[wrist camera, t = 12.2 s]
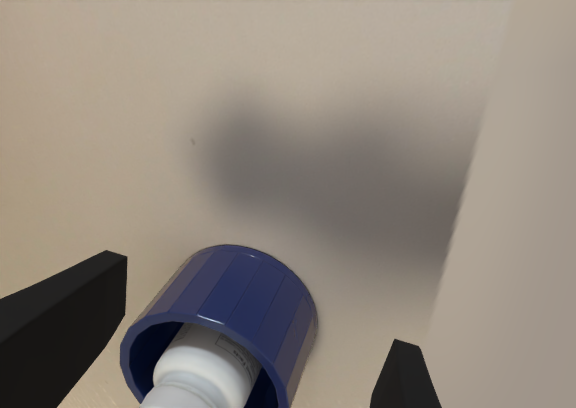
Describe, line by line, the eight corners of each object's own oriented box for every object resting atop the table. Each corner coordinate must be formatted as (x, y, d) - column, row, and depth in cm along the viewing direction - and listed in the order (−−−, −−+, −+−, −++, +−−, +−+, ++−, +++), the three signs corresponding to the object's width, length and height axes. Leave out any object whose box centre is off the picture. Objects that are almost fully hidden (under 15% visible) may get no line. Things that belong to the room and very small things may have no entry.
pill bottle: (207, 342, 28) (133, 464, 21) (195, 278, 26) (109, 390, 20) (281, 353, 27) (226, 487, 20) (274, 287, 25) (211, 411, 18)
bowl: (333, 275, 24) (305, 354, 20) (300, 386, 28) (270, 473, 24) (181, 224, 26) (120, 287, 21) (170, 337, 30) (118, 411, 25)
